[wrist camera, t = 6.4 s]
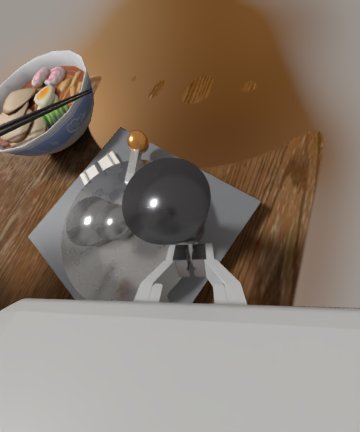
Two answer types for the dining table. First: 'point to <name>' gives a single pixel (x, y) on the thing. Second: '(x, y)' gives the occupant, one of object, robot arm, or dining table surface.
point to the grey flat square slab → (214, 233)
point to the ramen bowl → (45, 105)
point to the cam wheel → (132, 222)
